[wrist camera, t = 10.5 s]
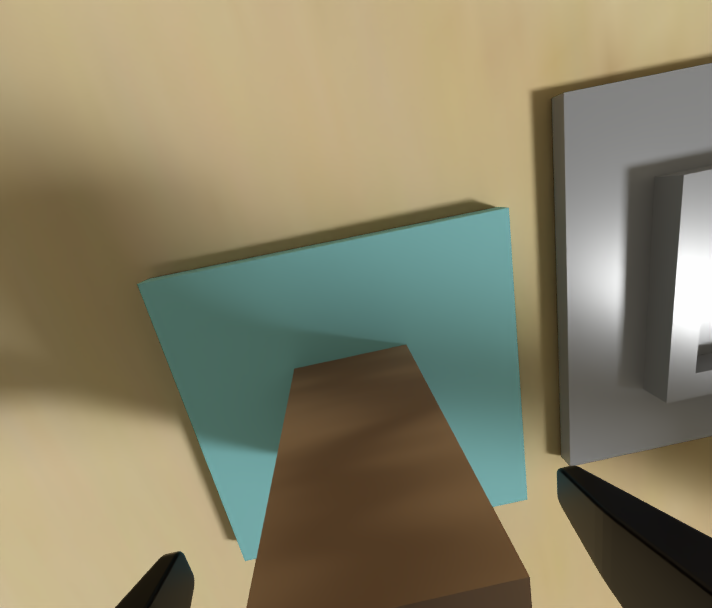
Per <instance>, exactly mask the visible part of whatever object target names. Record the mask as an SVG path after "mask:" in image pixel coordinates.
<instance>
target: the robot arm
mask: <svg viewBox="0 0 712 608" xmlns="http://www.w3.org/2000/svg"><path fill="white" fill-rule="evenodd" d="M557 494H558V499H559V502H560V505H561V507H562V508H563V510H564V512H565V514H566V515H567V517H568V519H569V521H570V522H571V524H572V526H573V528H574V529H575V531H576V533H577V535H578V536H579V538H580V540H581V542H582V543H583V545H584V547H585V549H586V550H587V552H588V554H589V556H590V557H591V559H592V561H593V563H594V564H595V566H596V568H597V569H598V571H599V573H600V574H601V576H602V578H603V579H604V581H605V582H606V584H607V585H608V587H609V588H610V590H611V591H612V593H613V594H614V595H615V597H616V598H617V600H618V601H619V603H620V604H621V606H622V607H623V608H712V538H711V537H709V536H707V535H705V534H704V533H702V532H700V531H698V530H696V529H694V528H692V527H690V526H689V525H687V524H685V523H683V522H681V521H679V520H677V519H675V518H674V517H672V516H670V515H668V514H666V513H664V512H662V511H660V510H659V509H657V508H655V507H653V506H651V505H649V504H647V503H645V502H644V501H642V500H640V499H638V498H636V497H634V496H632V495H630V494H629V493H627V492H625V491H623V490H621V489H619V488H617V487H615V486H614V485H612V484H610V483H608V482H606V481H604V480H602V479H601V478H599V477H597V476H595V475H593V474H591V473H589V472H587V471H586V470H584V469H582V468H580V467H578V466H568V467H563V468H560V469H558V471H557ZM193 590H194V575H193V573H192V571H191V568H190V566H189V564H188V562H187V560H186V557H185V555H184V554H183V553H182V552H181V551H178V552H173V553H169V554H165V555H163V556H162V557H161V558H160V559H159V560H158V561H157V562H156V563H155V564H154V565H153V566H152V567H151V568H150V570H149V571H148V572H147V573H146V574H145V575H144V576H143V577H142V578H141V579H140V581H139V582H138V583H137V584H136V585H135V586H134V587H133V588H132V589H131V591H130V592H129V593H128V594H127V595H126V596H125V597H124V598H123V599H122V600H121V602H120V603H119V604H118V605H117V606H116V607H115V608H190V607H191V601H192V596H193Z"/></svg>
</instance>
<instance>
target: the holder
mask: <svg viewBox="0 0 712 608" xmlns="http://www.w3.org/2000/svg"><path fill="white" fill-rule="evenodd" d="M552 123H553V161H554V198H555V236H556V274H557V312H558V350H559V388H560V425H561V457H562V458H563V459H564V460H565V461H566V462H567V463H568V465H569V466H576V465H580V464H585V463H589V462H594V461H599V460H603V459H608V458H612V457H617V456H622V455H626V454H631V453H635V452H640V451H645V450H649V449H654V448H658V447H663V446H668V445H672V444H677V443H681V442H686V441H691V440H695V439H700V438H704V437H709V436H712V63H709V64H704V65H699V66H694V67H689V68H684V69H679V70H674V71H670V72H665V73H660V74H655V75H650V76H645V77H640V78H635V79H630V80H625V81H620V82H615V83H610V84H605V85H600V86H595V87H590V88H585V89H580V90H575V91H570V92H565V93H562V94H560V95H558V96H555V97H553V98H552Z"/></svg>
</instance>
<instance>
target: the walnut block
mask: <svg viewBox="0 0 712 608" xmlns="http://www.w3.org/2000/svg"><path fill="white" fill-rule="evenodd" d="M247 608H532V602H531V588H530V577H529V575H528V573H527V571H526V569H525V567H524V565H523V563H522V562H521V560H520V558H519V556H518V554H517V552H516V550H515V548H514V546H513V545H512V543H511V541H510V539H509V537H508V535H507V533H506V531H505V529H504V528H503V526H502V524H501V522H500V520H499V518H498V516H497V514H496V513H495V511H494V509H493V507H492V505H491V503H490V501H489V499H488V497H487V496H486V494H485V492H484V490H483V488H482V486H481V484H480V482H479V480H478V479H477V477H476V475H475V473H474V471H473V469H472V467H471V465H470V463H469V462H468V460H467V458H466V456H465V454H464V452H463V450H462V448H461V447H460V445H459V443H458V441H457V439H456V437H455V435H454V433H453V431H452V430H451V428H450V426H449V424H448V422H447V420H446V418H445V416H444V414H443V413H442V411H441V409H440V407H439V405H438V403H437V401H436V399H435V398H434V396H433V394H432V392H431V390H430V388H429V386H428V384H427V382H426V381H425V379H424V377H423V375H422V373H421V371H420V369H419V367H418V365H417V364H416V362H415V360H414V358H413V356H412V354H411V352H410V350H409V349H408V347H407V345H401V346H397V347H392V348H387V349H383V350H378V351H374V352H369V353H364V354H360V355H355V356H350V357H346V358H341V359H337V360H332V361H327V362H323V363H318V364H313V365H309V366H304V367H300V368H295V369H294V373H293V378H292V383H291V388H290V393H289V398H288V403H287V408H286V413H285V418H284V423H283V428H282V433H281V438H280V443H279V448H278V453H277V458H276V463H275V468H274V473H273V478H272V483H271V488H270V493H269V498H268V503H267V508H266V513H265V518H264V523H263V528H262V533H261V538H260V543H259V548H258V553H257V558H256V563H255V568H254V573H253V578H252V583H251V588H250V593H249V598H248V603H247Z"/></svg>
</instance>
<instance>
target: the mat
mask: <svg viewBox="0 0 712 608" xmlns="http://www.w3.org/2000/svg"><path fill="white" fill-rule="evenodd" d="M137 285H138V288H139V290H140V293H141V295H142V298H143V300H144V303H145V306H146V308H147V311H148V313H149V316H150V318H151V321H152V324H153V326H154V329H155V331H156V334H157V336H158V339H159V341H160V344H161V347H162V349H163V352H164V354H165V357H166V359H167V362H168V365H169V367H170V370H171V372H172V375H173V377H174V380H175V383H176V385H177V388H178V390H179V393H180V395H181V398H182V401H183V403H184V406H185V408H186V411H187V413H188V416H189V418H190V421H191V424H192V426H193V429H194V431H195V434H196V436H197V439H198V442H199V444H200V447H201V449H202V452H203V454H204V457H205V460H206V462H207V465H208V467H209V470H210V472H211V475H212V477H213V480H214V483H215V485H216V488H217V490H218V493H219V495H220V498H221V501H222V503H223V506H224V508H225V511H226V513H227V516H228V519H229V521H230V524H231V526H232V529H233V531H234V534H235V537H236V539H237V542H238V544H239V547H240V549H241V552H242V554H243V557H244V560H245V561H247V560H252V559H256V558H257V553H258V548H259V543H260V538H261V533H262V528H263V523H264V518H265V513H266V508H267V503H268V498H269V493H270V488H271V483H272V478H273V473H274V468H275V463H276V458H277V453H278V448H279V443H280V438H281V433H282V428H283V423H284V418H285V413H286V408H287V403H288V398H289V393H290V388H291V383H292V378H293V373H294V369H295V368H300V367H304V366H309V365H313V364H318V363H323V362H327V361H332V360H337V359H341V358H346V357H350V356H355V355H360V354H364V353H369V352H374V351H378V350H383V349H387V348H392V347H397V346H401V345H407V347H408V349H409V350H410V352H411V354H412V356H413V358H414V360H415V362H416V364H417V365H418V367H419V369H420V371H421V373H422V375H423V377H424V379H425V381H426V382H427V384H428V386H429V388H430V390H431V392H432V394H433V396H434V398H435V399H436V401H437V403H438V405H439V407H440V409H441V411H442V413H443V414H444V416H445V418H446V420H447V422H448V424H449V426H450V428H451V430H452V431H453V433H454V435H455V437H456V439H457V441H458V443H459V445H460V447H461V448H462V450H463V452H464V454H465V456H466V458H467V460H468V462H469V463H470V465H471V467H472V469H473V471H474V473H475V475H476V477H477V479H478V480H479V482H480V484H481V486H482V488H483V490H484V492H485V494H486V496H487V497H488V499H489V501H490V503H491V505H492V507H495V506H499V505H504V504H508V503H513V502H518V501H522V500H527V486H526V470H525V455H524V439H523V423H522V408H521V392H520V376H519V361H518V345H517V329H516V314H515V298H514V282H513V266H512V251H511V235H510V219H509V208H505V207H495V208H491V209H486V210H481V211H476V212H471V213H466V214H461V215H456V216H452V217H447V218H442V219H437V220H432V221H427V222H422V223H418V224H413V225H408V226H403V227H398V228H393V229H388V230H384V231H379V232H374V233H369V234H364V235H359V236H354V237H349V238H345V239H340V240H335V241H330V242H325V243H320V244H315V245H311V246H306V247H301V248H296V249H291V250H286V251H281V252H277V253H272V254H267V255H262V256H257V257H252V258H247V259H242V260H238V261H233V262H228V263H223V264H218V265H213V266H208V267H204V268H199V269H194V270H189V271H184V272H179V273H174V274H170V275H165V276H160V277H155V278H150V279H147V280H145V281H143V282H141V283H139V284H137Z"/></svg>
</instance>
